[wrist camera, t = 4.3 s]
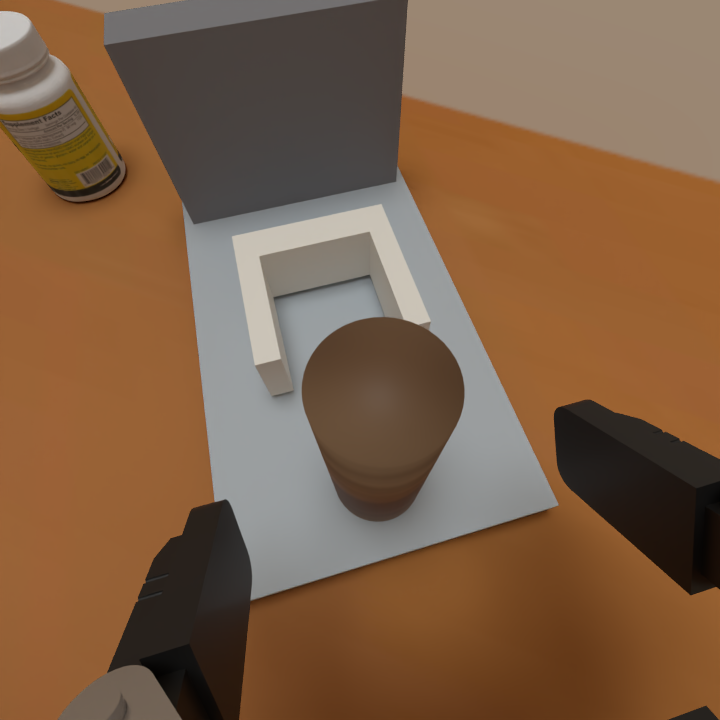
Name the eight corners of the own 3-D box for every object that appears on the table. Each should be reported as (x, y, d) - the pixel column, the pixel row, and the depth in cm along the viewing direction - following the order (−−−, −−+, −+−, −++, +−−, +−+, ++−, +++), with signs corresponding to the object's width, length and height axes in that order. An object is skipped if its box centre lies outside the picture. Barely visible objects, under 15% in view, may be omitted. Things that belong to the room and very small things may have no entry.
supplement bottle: (64, 157, 29) (-44, 8, 21) (133, 152, 29) (50, 2, 21) (45, 207, 26) (-84, 61, 19) (120, 202, 26) (21, 54, 19)
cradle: (422, 356, 19) (430, 321, 16) (271, 396, 18) (254, 365, 16) (380, 248, 22) (381, 203, 20) (249, 278, 21) (231, 236, 19)
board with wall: (547, 509, 17) (739, 435, 8) (235, 605, 16) (61, 641, 7) (389, 167, 27) (399, -36, 18) (188, 209, 26) (91, 12, 17)
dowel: (415, 528, 16) (460, 479, 8) (325, 513, 16) (283, 451, 8) (424, 441, 18) (468, 327, 10) (342, 428, 18) (320, 308, 10)
